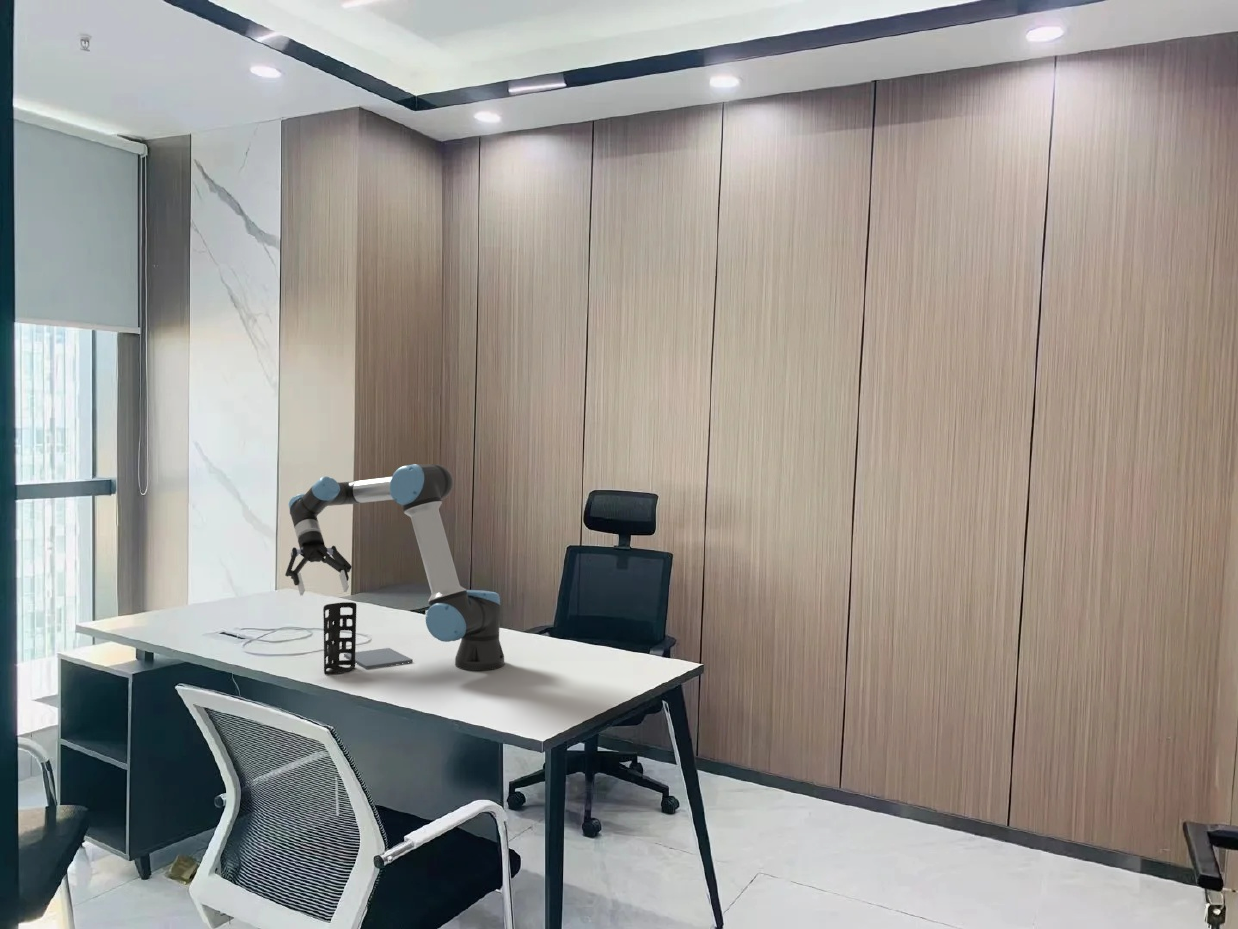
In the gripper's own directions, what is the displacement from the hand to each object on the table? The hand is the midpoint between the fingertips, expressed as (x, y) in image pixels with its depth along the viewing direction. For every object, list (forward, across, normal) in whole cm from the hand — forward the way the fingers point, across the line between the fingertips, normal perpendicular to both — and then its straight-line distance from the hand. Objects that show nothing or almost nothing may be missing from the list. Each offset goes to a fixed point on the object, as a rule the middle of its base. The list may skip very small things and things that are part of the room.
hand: (324, 591), depth 274 cm
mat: (+20, -15, -12) cm, 27 cm away
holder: (+24, 0, -7) cm, 25 cm away
